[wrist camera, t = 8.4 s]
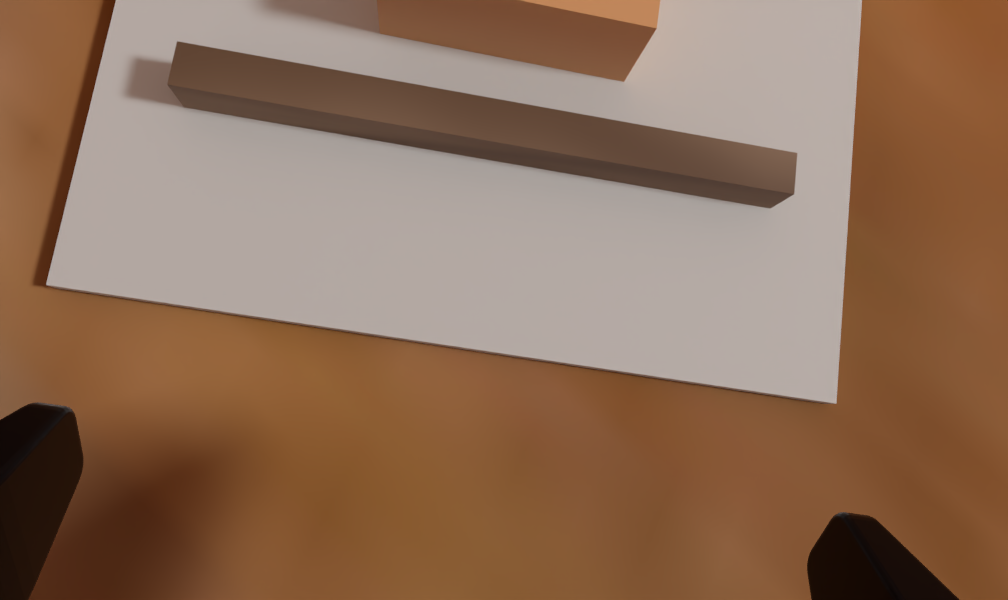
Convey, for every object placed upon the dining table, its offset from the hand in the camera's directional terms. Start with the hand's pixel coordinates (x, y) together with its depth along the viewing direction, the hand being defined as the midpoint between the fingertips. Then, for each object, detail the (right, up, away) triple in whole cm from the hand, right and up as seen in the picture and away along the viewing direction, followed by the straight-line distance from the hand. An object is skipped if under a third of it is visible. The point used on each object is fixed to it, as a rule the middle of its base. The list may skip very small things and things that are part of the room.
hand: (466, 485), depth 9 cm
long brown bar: (0, +6, +9) cm, 11 cm away
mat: (+1, +13, +11) cm, 17 cm away
